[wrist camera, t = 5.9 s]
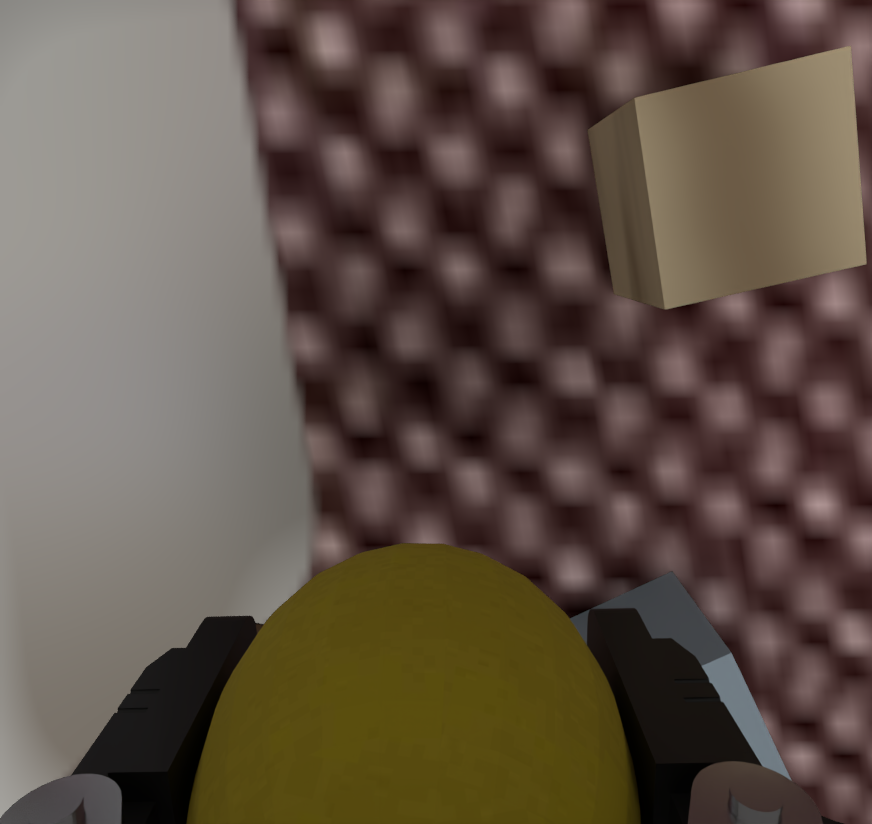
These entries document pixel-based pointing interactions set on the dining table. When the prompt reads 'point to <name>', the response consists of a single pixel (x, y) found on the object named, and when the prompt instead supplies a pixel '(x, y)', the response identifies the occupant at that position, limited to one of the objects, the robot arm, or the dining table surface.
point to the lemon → (416, 705)
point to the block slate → (697, 653)
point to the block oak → (732, 182)
